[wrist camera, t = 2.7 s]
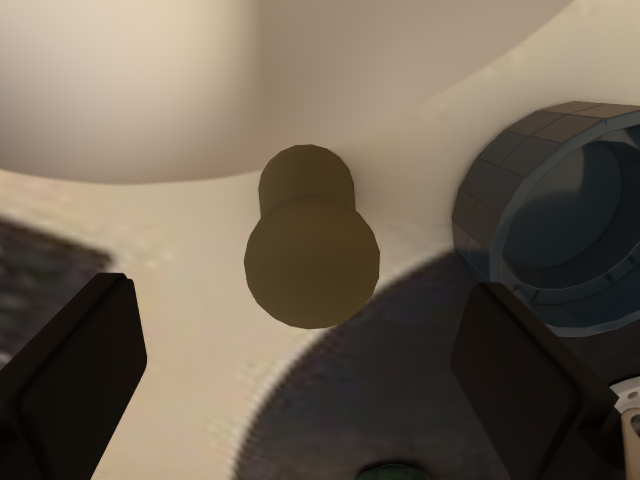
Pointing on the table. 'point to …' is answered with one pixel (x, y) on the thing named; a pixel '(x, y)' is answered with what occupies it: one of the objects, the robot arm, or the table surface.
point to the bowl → (559, 216)
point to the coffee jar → (394, 473)
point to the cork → (310, 241)
